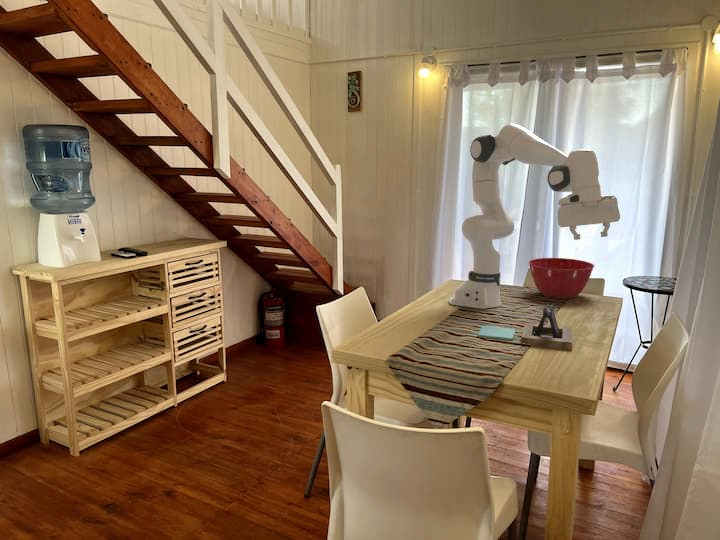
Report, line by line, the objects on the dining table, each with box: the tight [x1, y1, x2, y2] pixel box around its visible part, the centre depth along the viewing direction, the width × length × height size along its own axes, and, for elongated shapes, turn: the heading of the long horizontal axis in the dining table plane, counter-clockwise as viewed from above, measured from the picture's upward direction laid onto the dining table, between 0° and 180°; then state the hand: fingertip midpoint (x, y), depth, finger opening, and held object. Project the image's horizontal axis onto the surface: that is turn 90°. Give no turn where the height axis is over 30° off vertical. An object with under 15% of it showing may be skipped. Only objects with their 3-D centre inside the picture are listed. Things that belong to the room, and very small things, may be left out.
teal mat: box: [477, 325, 517, 341], centre depth 195 cm, size 12×12×1 cm
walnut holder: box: [520, 322, 573, 351], centre depth 189 cm, size 16×18×2 cm
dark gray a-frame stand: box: [533, 303, 562, 339], centre depth 188 cm, size 9×6×12 cm, turn 62°
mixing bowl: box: [528, 257, 595, 300], centre depth 251 cm, size 28×28×16 cm
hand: (590, 238), depth 181 cm, fingers open, 8 cm apart
